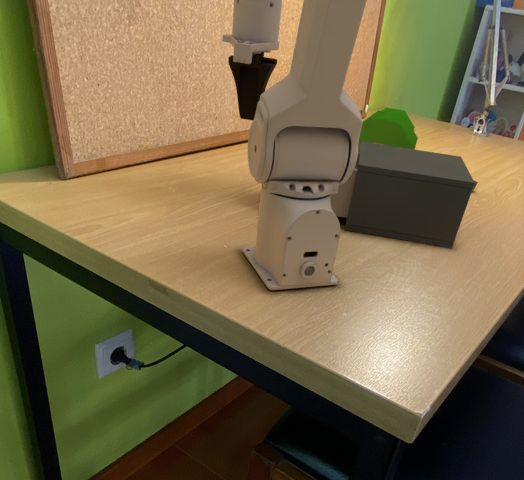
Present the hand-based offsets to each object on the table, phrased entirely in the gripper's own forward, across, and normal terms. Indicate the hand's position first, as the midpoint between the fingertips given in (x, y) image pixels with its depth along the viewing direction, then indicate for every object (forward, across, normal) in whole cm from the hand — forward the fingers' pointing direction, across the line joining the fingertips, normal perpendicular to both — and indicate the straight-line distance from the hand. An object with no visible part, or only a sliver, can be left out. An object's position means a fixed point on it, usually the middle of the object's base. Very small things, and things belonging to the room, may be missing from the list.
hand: (248, 118), depth 68 cm
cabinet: (+10, +1, +22) cm, 25 cm away
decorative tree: (+11, -21, +20) cm, 31 cm away
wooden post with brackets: (+11, -17, +34) cm, 40 cm away
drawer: (+10, +1, +12) cm, 15 cm away
